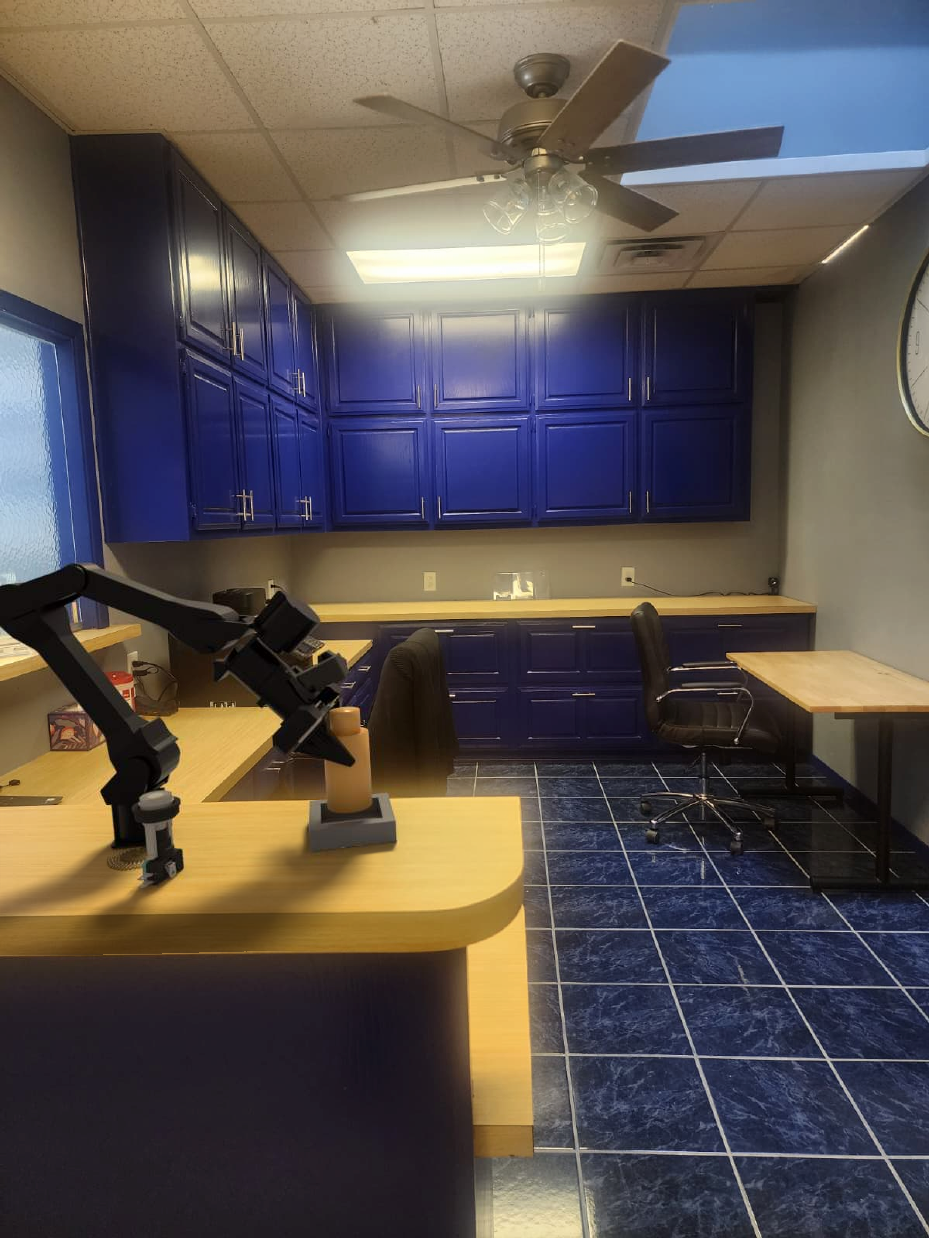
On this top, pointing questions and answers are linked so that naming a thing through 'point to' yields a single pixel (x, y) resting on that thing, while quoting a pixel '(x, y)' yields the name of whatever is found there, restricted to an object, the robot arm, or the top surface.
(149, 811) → the push button
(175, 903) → the top surface
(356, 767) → the peach lotion bottle
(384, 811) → the socket
